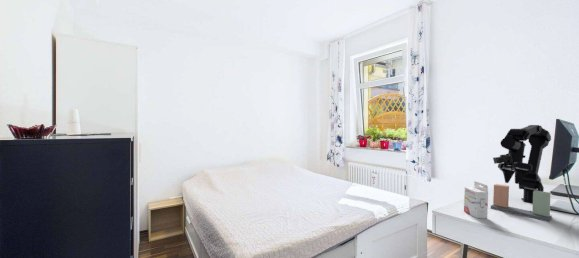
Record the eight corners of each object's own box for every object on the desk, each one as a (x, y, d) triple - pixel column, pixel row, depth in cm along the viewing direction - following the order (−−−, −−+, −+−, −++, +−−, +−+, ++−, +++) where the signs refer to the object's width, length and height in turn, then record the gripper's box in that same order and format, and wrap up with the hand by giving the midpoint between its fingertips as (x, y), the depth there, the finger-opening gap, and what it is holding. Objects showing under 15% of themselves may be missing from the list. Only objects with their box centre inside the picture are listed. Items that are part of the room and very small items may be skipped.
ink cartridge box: (463, 211, 116) (464, 180, 115) (473, 211, 116) (474, 180, 115) (476, 218, 107) (477, 185, 107) (487, 218, 107) (489, 185, 107)
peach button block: (495, 203, 124) (496, 183, 124) (508, 205, 120) (509, 185, 120) (493, 204, 122) (493, 184, 121) (506, 207, 118) (507, 187, 117)
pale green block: (534, 211, 113) (535, 189, 113) (550, 214, 109) (550, 192, 109) (532, 213, 110) (533, 191, 110) (548, 216, 106) (549, 193, 106)
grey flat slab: (494, 205, 125) (494, 203, 125) (551, 218, 109) (551, 215, 109) (490, 208, 121) (490, 205, 121) (549, 221, 105) (549, 218, 105)
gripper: (488, 150, 135) (484, 178, 134) (506, 147, 118) (501, 179, 116) (513, 155, 132) (509, 183, 130) (535, 152, 114) (530, 185, 113)
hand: (511, 183), depth 122 cm, fingers open, 9 cm apart
